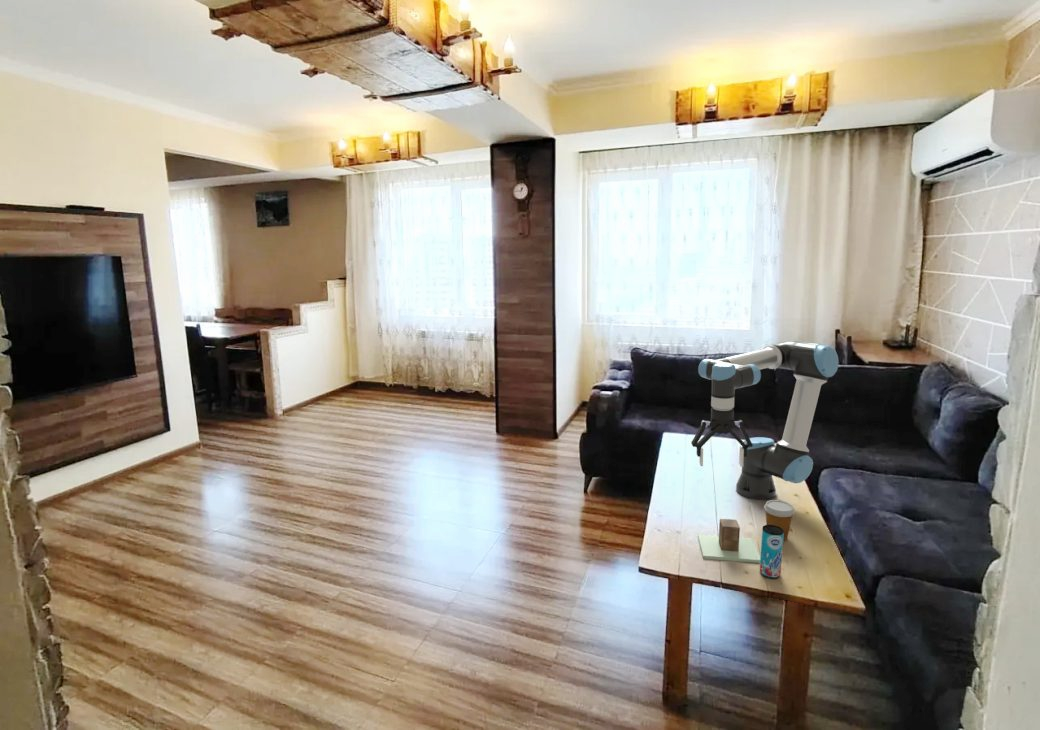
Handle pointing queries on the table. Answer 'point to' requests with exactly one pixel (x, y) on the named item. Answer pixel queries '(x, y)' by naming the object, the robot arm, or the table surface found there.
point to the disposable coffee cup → (779, 515)
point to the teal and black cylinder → (771, 551)
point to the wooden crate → (729, 535)
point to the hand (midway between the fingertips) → (721, 465)
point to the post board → (714, 551)
